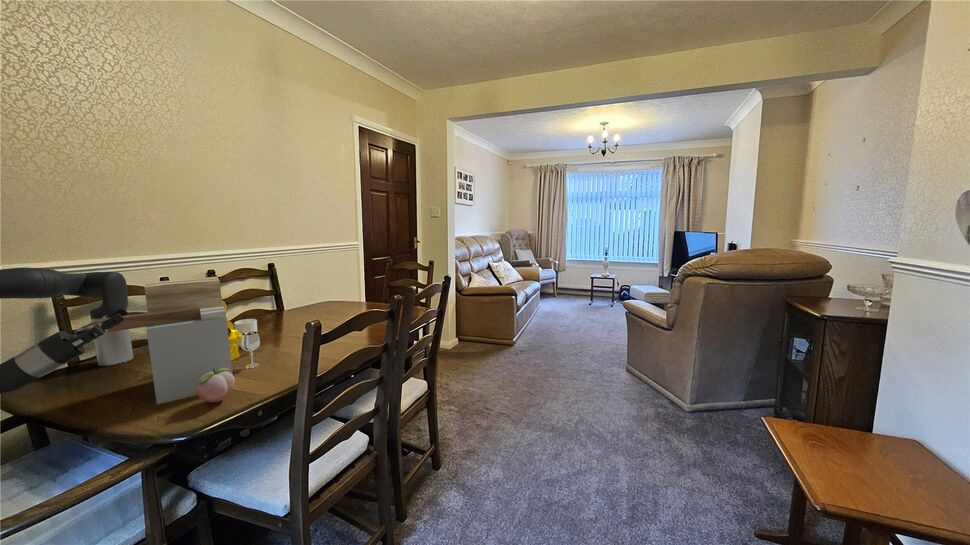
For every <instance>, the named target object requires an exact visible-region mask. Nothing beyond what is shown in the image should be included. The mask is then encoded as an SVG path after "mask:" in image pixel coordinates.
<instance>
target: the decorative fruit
mask: <svg viewBox="0 0 970 545" xmlns="http://www.w3.org/2000/svg"><path fill="white" fill-rule="evenodd" d="M226 370H230V369H228V368H220V369H217V370H215V369H213V372H209V373H207V374H205V375H203V376H202V377H201V378H200V379H199V380H198V382H197V383H196V387H195V389H196V392H197V394H198V395H197V396H198V397H199V398H200V399H201V400H203V401H205V402H206V403H207V402H208V403H219V402H220V401H221V402H222V400H224V399H225V398H226V397H228V395H229V394H230V393H231V392H232V390H233V387H235V383H236V378H235V376H234V374H233V375H232V374H231V373H230V372H227V371H226Z"/></svg>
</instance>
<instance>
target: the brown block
mask: <svg viewBox="0 0 970 545" xmlns="http://www.w3.org/2000/svg"><path fill="white" fill-rule="evenodd" d="M122 317H123V318H124V321H123V322H121V323H119V324H117V325H115V326H114V327H112V328H110V329H109V330H108V331H107V332H112V331H119V330H126V329H129V330H132V329H133V330H134V329H140V328H147V327H148V326H155V325H162V324H170V323H177V322H184V321H191V320H199V319H201V321H204V320H211V319H218V318H225V317H227V312H226V311H225V309H224V307H223V306H221V307H213V308H205V309H200V307H194V308H185V309H177V310H169V311H161V312H152V313H148V312H147V313H145V312H144V313H138V314H137V313H136V314H127V316H122ZM107 319H109V318H103V319H95V320H94V322H93V323H94V325H97V324H98V323H102V322H104V321H105V320H107ZM102 324H103V323H102Z"/></svg>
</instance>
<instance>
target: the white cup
mask: <svg viewBox="0 0 970 545" xmlns="http://www.w3.org/2000/svg"><path fill="white" fill-rule="evenodd" d="M233 325H234V330H237V331H238V332H239V333H241V334H243V333H246V332H252V331H255V332H257V333H258V320H257V319H256V318H245V319H240V320H237V321H235V322H234V323H233ZM237 343H238V348H241V340H239V339H237Z"/></svg>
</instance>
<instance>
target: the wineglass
mask: <svg viewBox="0 0 970 545" xmlns="http://www.w3.org/2000/svg"><path fill="white" fill-rule="evenodd" d="M260 345H261V339H260V335H259V333H258V331H257V332H255V331H252V332H246V333H243V334H242V335H241V347H240V348H241V349H242V350H243V351H245V352H249V356H250V361H251V363H250V364H247V365H245V366H244V367H245V369H248V368H250V369H255V368H258V367H259V365H261V364H260V363H258V362H257V363H255V362H254V359H253V357H254V352H253V351H256V350H257V349H258V348H259V347H260ZM257 366H258V367H257ZM254 367H255V368H254Z"/></svg>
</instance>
